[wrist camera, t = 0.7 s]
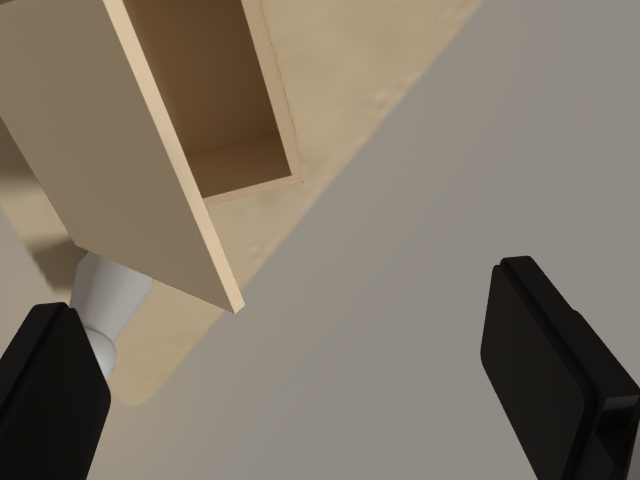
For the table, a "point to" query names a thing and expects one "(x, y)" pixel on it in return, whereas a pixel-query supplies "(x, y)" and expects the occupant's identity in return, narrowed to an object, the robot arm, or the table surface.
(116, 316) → the salt shaker
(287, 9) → the table surface
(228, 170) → the carton
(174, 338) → the table surface
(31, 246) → the table surface
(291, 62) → the table surface
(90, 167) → the flap
